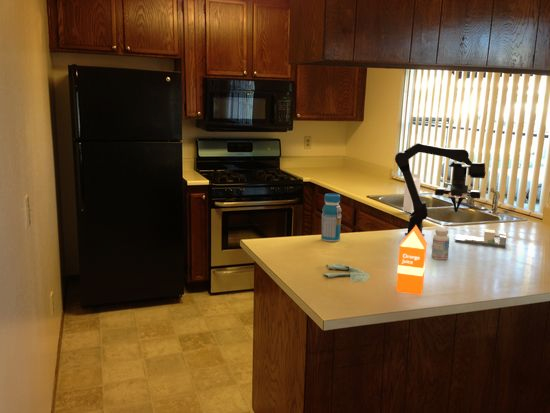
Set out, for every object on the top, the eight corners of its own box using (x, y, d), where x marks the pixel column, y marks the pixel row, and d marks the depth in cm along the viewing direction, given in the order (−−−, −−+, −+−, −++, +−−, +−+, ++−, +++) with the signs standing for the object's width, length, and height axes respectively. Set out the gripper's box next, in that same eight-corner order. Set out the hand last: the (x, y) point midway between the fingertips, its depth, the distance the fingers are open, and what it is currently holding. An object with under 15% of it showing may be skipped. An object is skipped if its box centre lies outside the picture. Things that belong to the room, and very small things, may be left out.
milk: (411, 214, 274) (414, 174, 269) (402, 212, 278) (405, 173, 274) (418, 213, 277) (421, 174, 273) (409, 211, 282) (412, 172, 278)
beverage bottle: (324, 242, 211) (326, 196, 207) (318, 237, 219) (320, 193, 215) (342, 241, 212) (345, 196, 209) (336, 236, 220) (338, 192, 217)
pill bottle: (442, 255, 195) (445, 227, 193) (450, 259, 189) (453, 231, 187) (428, 255, 194) (430, 228, 192) (436, 260, 188) (438, 231, 186)
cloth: (372, 286, 161) (372, 279, 160) (305, 281, 164) (305, 274, 164) (371, 267, 180) (372, 261, 180) (311, 263, 184) (312, 257, 184)
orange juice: (395, 291, 155) (400, 229, 151) (399, 282, 163) (403, 223, 159) (421, 294, 152) (426, 231, 148) (423, 285, 160) (428, 225, 157)
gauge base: (455, 242, 216) (455, 232, 215) (456, 236, 225) (457, 227, 224) (505, 247, 208) (506, 237, 207) (505, 242, 217) (506, 232, 216)
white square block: (483, 242, 211) (484, 232, 210) (484, 237, 218) (485, 229, 217) (504, 244, 208) (505, 235, 207) (504, 240, 215) (505, 231, 214)
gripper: (434, 177, 214) (432, 213, 217) (481, 181, 207) (477, 217, 210) (437, 175, 224) (435, 208, 227) (482, 178, 217) (478, 212, 219)
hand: (455, 211), depth 220 cm, fingers closed
